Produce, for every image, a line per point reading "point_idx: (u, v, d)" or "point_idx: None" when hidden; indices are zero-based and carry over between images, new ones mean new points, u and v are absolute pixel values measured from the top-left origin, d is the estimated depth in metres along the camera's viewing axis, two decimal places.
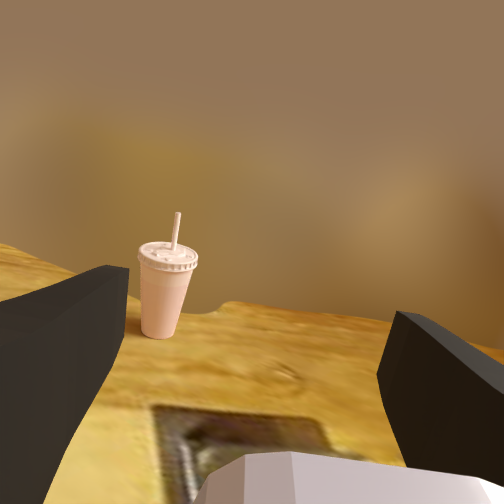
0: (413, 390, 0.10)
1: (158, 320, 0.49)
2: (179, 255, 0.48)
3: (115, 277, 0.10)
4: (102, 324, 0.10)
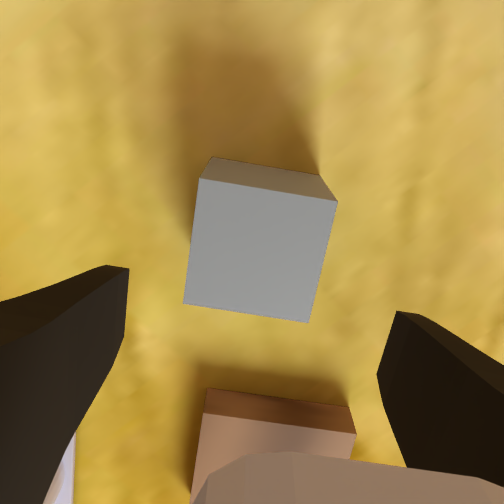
0: (413, 389, 0.10)
1: None
2: None
3: (115, 277, 0.10)
4: (102, 324, 0.10)
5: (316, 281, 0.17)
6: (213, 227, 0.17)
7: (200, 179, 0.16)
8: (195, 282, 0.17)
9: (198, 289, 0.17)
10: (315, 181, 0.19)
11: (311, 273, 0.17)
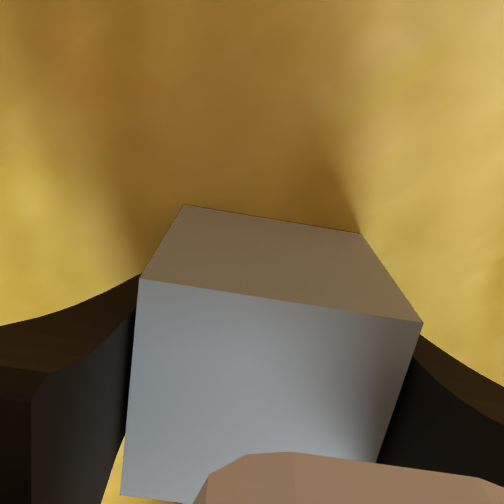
0: None
1: None
2: None
3: None
4: None
5: (372, 461, 0.09)
6: (172, 369, 0.08)
7: (142, 281, 0.08)
8: (141, 461, 0.09)
9: (147, 472, 0.09)
10: (360, 254, 0.11)
11: (363, 447, 0.09)
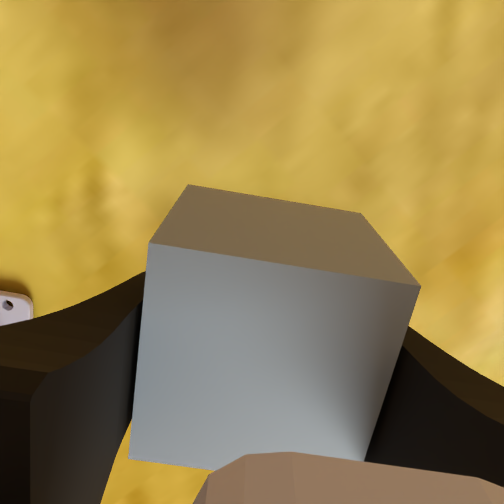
0: None
1: None
2: None
3: None
4: None
5: (372, 424, 0.09)
6: (179, 333, 0.09)
7: (151, 245, 0.08)
8: (148, 424, 0.09)
9: (155, 436, 0.10)
10: (360, 230, 0.11)
11: (363, 410, 0.09)
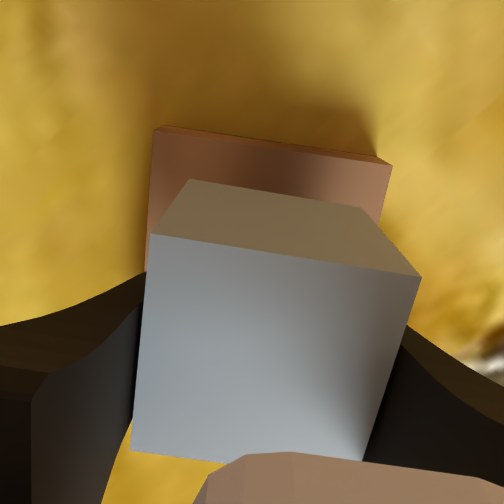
0: None
1: None
2: None
3: None
4: None
5: (373, 415, 0.09)
6: (181, 324, 0.09)
7: (153, 236, 0.08)
8: (150, 415, 0.09)
9: (156, 427, 0.10)
10: (361, 223, 0.11)
11: (364, 402, 0.09)
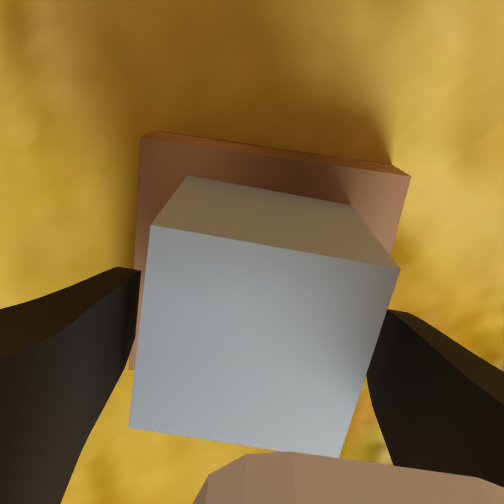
0: (400, 387, 0.10)
1: None
2: None
3: (128, 279, 0.10)
4: (116, 326, 0.10)
5: (355, 398, 0.10)
6: (177, 310, 0.09)
7: (153, 227, 0.09)
8: (147, 395, 0.10)
9: (154, 406, 0.10)
10: (349, 219, 0.12)
11: (347, 385, 0.10)
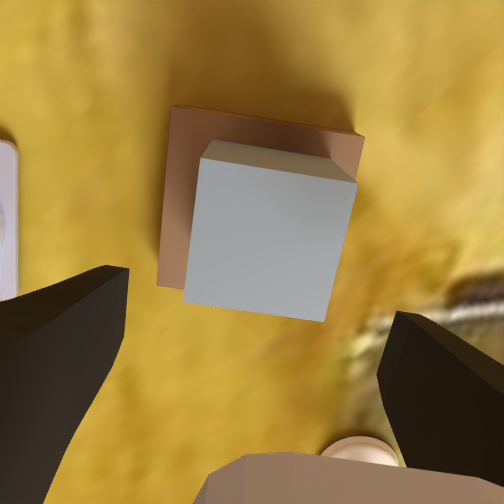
0: (413, 389, 0.10)
1: None
2: None
3: (115, 277, 0.10)
4: (102, 324, 0.10)
5: (333, 275, 0.15)
6: (217, 215, 0.15)
7: (202, 159, 0.14)
8: (196, 277, 0.15)
9: (200, 285, 0.15)
10: (328, 164, 0.17)
11: (327, 266, 0.15)
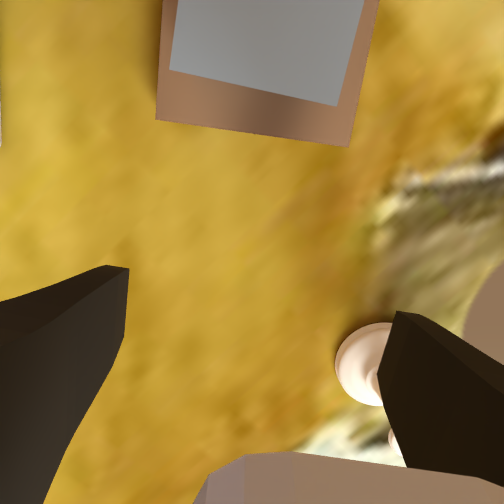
0: (413, 389, 0.10)
1: None
2: None
3: (115, 277, 0.10)
4: (102, 324, 0.10)
5: (351, 39, 0.13)
6: None
7: None
8: (186, 34, 0.13)
9: (190, 47, 0.13)
10: None
11: (345, 27, 0.13)
